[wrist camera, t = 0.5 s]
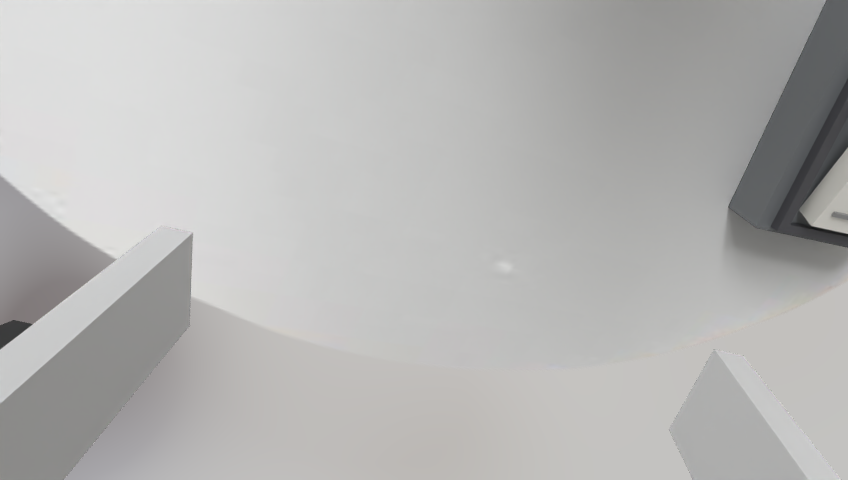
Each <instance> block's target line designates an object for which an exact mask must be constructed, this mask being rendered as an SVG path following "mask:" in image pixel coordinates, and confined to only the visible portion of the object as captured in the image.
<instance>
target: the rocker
mask: <svg viewBox="0 0 848 480" xmlns="http://www.w3.org/2000/svg"><path fill="white" fill-rule="evenodd" d="M799 211H800V212H801V213H802V215H803V216H804V217H805V218H806V220H807V221H808V222H809V224H810V225H811V226H814V227H818V228H823V229H828V230H832V231H837V232H842V233H846V234H848V148H847V149H846V151H845V152H844V153H843V154H842V156H841V157H840V158H839V159H838V161H837V162H836V163H835V164H834V166H833V167H832V168H831V170H830V171H829V172H828V173H827V175H826V176H825V177H824V178H823V180H822V181H821V182H820V183H819V185H818V186H817V187H816V188H815V190H814V191H813V192H812V194H811V195H810V196H809V197H808V199H807V200H806V201H805V202H804V204H803V205H802V206H801V207H800V209H799Z"/></svg>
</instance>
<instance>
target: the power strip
mask: <svg viewBox="0 0 848 480" xmlns="http://www.w3.org/2000/svg"><path fill="white" fill-rule="evenodd" d="M847 148H848V0H827V1H826V3H825V5H824V7H823V9H822V11H821V14H820V16H819V18H818V20H817V22H816V24H815V26H814V28H813V30H812V32H811V35H810V37H809V39H808V41H807V43H806V45H805V47H804V49H803V51H802V53H801V56H800V58H799V60H798V62H797V64H796V66H795V68H794V70H793V72H792V74H791V77H790V79H789V81H788V83H787V85H786V87H785V89H784V91H783V93H782V95H781V98H780V100H779V102H778V104H777V106H776V108H775V110H774V112H773V114H772V116H771V119H770V121H769V123H768V125H767V127H766V129H765V131H764V133H763V135H762V137H761V140H760V142H759V144H758V146H757V148H756V150H755V152H754V154H753V156H752V158H751V161H750V163H749V165H748V167H747V169H746V171H745V173H744V175H743V177H742V179H741V182H740V184H739V186H738V188H737V190H736V192H735V194H734V196H733V198H732V200H731V203H730V205H729V208H730V209H732V210H733V211H734V212H736V213H737V214H738V215H740V216H741V217H742V218H744V219H745V220H746V221H748V222H749V223H750V224H752V225H753V226H754V227H756V228H759V229H764V230H769V231H773V232H778V233H783V234H787V235H792V236H797V237H801V238H806V239H811V240H815V241H820V242H825V243H829V244H834V245H839V246H843V247H848V234H846V233H842V232H837V231H832V230H828V229H823V228H818V227H814V226H811V225H810V224H809V222H808V221H807V220H806V218H805V217H804V216H803V215H802V213H801V212H800V211H799V209H800V207H801V206H802V205H803V204H804V202H805V201H806V200H807V199H808V197H809V196H810V195H811V194H812V192H813V191H814V190H815V188H816V187H817V186H818V185H819V183H820V182H821V181H822V180H823V178H824V177H825V176H826V175H827V173H828V172H829V171H830V170H831V168H832V167H833V166H834V164H835V163H836V162H837V161H838V159H839V158H840V157H841V156H842V154H843V153H844V152H845V151H846V149H847Z"/></svg>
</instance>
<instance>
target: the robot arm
mask: <svg viewBox="0 0 848 480" xmlns="http://www.w3.org/2000/svg"><path fill="white" fill-rule="evenodd" d="M192 241H193V233H192V232H187V231H183V230H178V229H174V228H169V227H165V226H160V227H159V228H157V229H156V230H155V231H154V232H152V233H151V234H150V235H148V236H147V237H146V238H144V239H143V240H142V241H141V242H139V243H138V244H137V245H135V246H134V247H133V248H131V249H130V250H129V251H128V252H126V253H125V254H124V255H122V256H121V257H120V258H118V259H117V260H116V261H115V262H113V263H112V264H111V265H109V266H108V267H107V268H106V269H104V270H103V271H102V272H100V273H99V274H98V275H96V276H95V277H94V278H93V279H91V280H90V281H89V282H87V283H86V284H85V285H83V286H82V287H81V288H80V289H78V290H77V291H76V292H74V293H73V294H72V295H70V296H69V297H68V298H67V299H65V300H64V301H63V302H61V303H60V304H59V305H57V306H56V307H55V308H54V309H52V310H51V311H50V312H48V313H47V314H46V315H44V316H43V317H42V318H41V319H39V320H38V321H37V322H35V323H34V324H30V323H25V322H20V321H15V320H13V321H11V322H8V323H5V324H3V325H0V480H64V479H65V477H66V476H67V475H68V474H69V473H70V471H71V470H72V469H73V468H74V467H75V465H76V464H77V463H78V462H79V460H80V459H81V458H82V457H83V456H84V454H85V453H86V452H87V451H88V449H89V448H90V447H91V446H92V445H93V443H94V442H95V441H96V440H97V438H98V437H99V436H100V435H101V434H102V432H103V431H104V430H105V429H106V427H107V426H108V425H109V424H110V423H111V421H112V420H113V419H114V418H115V416H116V415H117V414H118V413H119V411H120V410H121V409H122V407H124V405H125V404H126V403H127V402H128V401H129V399H130V398H131V397H132V396H133V394H134V393H135V392H136V391H137V390H138V388H139V387H140V386H141V385H142V383H143V382H144V381H145V380H146V378H147V377H148V376H149V375H150V374H151V372H152V371H153V370H154V369H155V367H156V366H157V365H158V364H159V363H160V361H161V360H162V359H163V358H164V357H165V355H166V354H167V353H168V351H169V350H170V349H171V348H172V347H173V345H174V344H175V343H176V342H177V341H178V339H179V338H180V337H181V336H182V334H183V333H184V332H185V331H186V330H187V328H188V327H189V325H190V299H191V270H192ZM669 431H670V433H671V435H672V437H673V440H674V442H675V443H676V446H677V448H678V450H679V452H680V454H681V456H682V458H683V460H684V462H685V464H686V466H687V468H688V471H689V473H690V475H691V477H692V479H693V480H841V479H840V478H839V476H838V475H837V474H836V472H835V471H834V470H833V468H832V467H831V466H830V465H829V463H828V462H827V461H826V460H825V458H824V457H823V456H822V455H821V453H820V452H819V451H818V449H817V448H816V447H815V446H814V445H813V443H812V442H811V441H810V439H809V438H808V437H807V436H806V434H805V433H804V432H803V431H802V429H801V428H800V427H799V425H798V424H797V423H796V422H795V420H794V419H793V418H792V417H791V415H790V414H789V413H788V411H787V410H786V409H785V408H784V406H783V405H782V404H781V403H780V401H779V400H778V399H777V398H776V396H775V395H774V394H773V393H772V391H771V390H770V389H769V387H768V386H767V385H766V384H765V382H764V381H763V380H762V379H761V378H760V376H759V375H758V373H757V372H756V371H755V370H754V368H753V367H752V366H751V365H750V363H749V362H748V361H747V360H746V358H745V357H744V356H743V355H738V354H734V353H729V352H725V351H720V350H716V349H714V350H713V352H712V354H711V356H710V357H709V359H708V361H707V363H706V365H705V366H704V368H703V370H702V372H701V373H700V375H699V377H698V379H697V380H696V382H695V384H694V386H693V388H692V389H691V391H690V393H689V395H688V396H687V398H686V400H685V402H684V404H683V406H682V407H681V409H680V411H679V412H678V414H677V416H676V418H675V420H674V421H673V423H672V425H671V427H670V429H669Z"/></svg>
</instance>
